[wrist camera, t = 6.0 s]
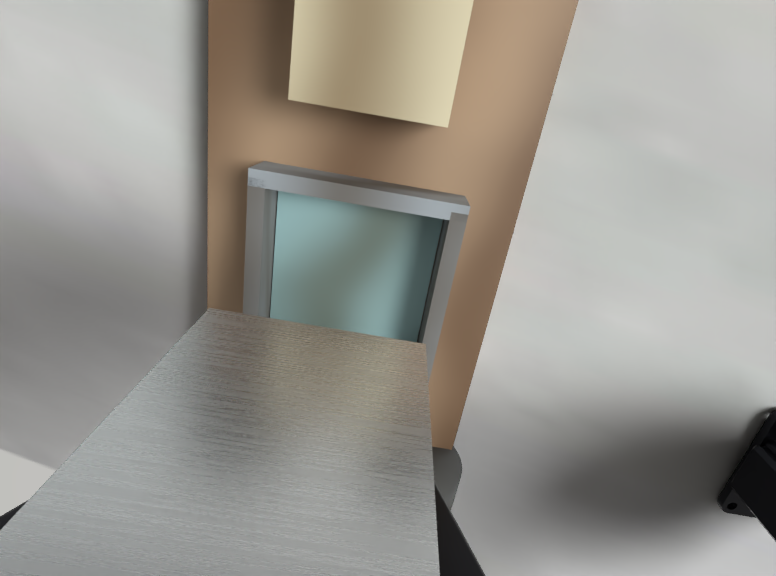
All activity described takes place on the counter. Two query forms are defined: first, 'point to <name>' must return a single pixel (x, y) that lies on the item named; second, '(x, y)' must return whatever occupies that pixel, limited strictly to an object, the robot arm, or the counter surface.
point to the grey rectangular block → (248, 464)
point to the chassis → (376, 168)
